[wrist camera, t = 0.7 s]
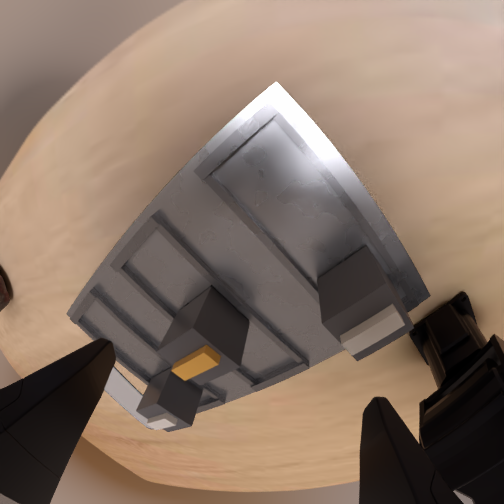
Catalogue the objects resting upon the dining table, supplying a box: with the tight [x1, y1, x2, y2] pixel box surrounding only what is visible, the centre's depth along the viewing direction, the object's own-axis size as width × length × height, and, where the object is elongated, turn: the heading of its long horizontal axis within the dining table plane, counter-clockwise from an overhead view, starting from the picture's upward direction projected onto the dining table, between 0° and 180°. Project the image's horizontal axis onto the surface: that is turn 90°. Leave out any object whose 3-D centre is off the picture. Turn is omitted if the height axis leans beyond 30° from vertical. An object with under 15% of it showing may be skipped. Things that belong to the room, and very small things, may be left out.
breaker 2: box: [317, 245, 414, 361], centre depth 16 cm, size 4×4×5 cm
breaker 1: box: [136, 368, 203, 432], centre depth 24 cm, size 4×4×5 cm
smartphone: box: [104, 366, 153, 429], centre depth 34 cm, size 7×1×15 cm
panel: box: [67, 82, 430, 414], centre depth 22 cm, size 18×28×3 cm, turn 132°
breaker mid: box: [156, 286, 250, 385], centre depth 19 cm, size 4×4×5 cm
